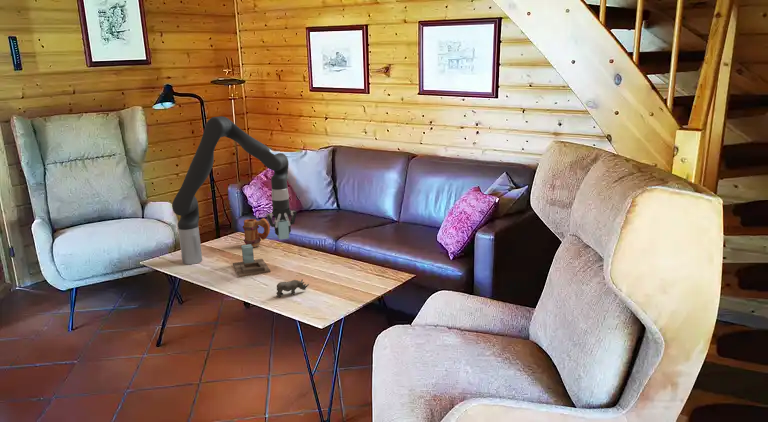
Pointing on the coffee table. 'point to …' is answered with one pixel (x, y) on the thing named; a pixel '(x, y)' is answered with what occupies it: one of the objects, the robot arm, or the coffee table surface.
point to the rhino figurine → (290, 286)
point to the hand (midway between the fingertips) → (282, 234)
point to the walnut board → (250, 263)
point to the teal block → (283, 229)
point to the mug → (255, 231)
